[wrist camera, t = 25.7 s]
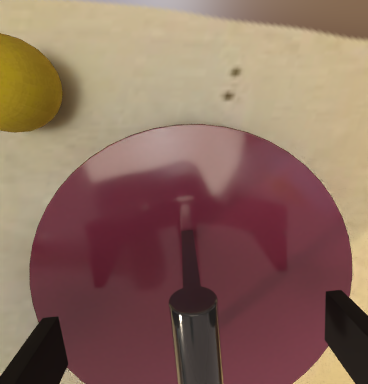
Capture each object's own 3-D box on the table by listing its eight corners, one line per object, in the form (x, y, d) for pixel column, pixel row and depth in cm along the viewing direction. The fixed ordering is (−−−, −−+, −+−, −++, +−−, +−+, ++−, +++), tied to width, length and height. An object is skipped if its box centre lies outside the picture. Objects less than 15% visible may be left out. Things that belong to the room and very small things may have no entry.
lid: (68, 413, 20) (-16, 630, 11) (7, 140, 16) (-201, 153, 7) (337, 388, 20) (459, 587, 11) (346, 109, 16) (552, 83, 7)
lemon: (22, 39, 20) (-77, -18, 12) (91, 80, 21) (39, 51, 13) (-8, 107, 21) (-117, 94, 13) (59, 145, 22) (-7, 153, 14)
